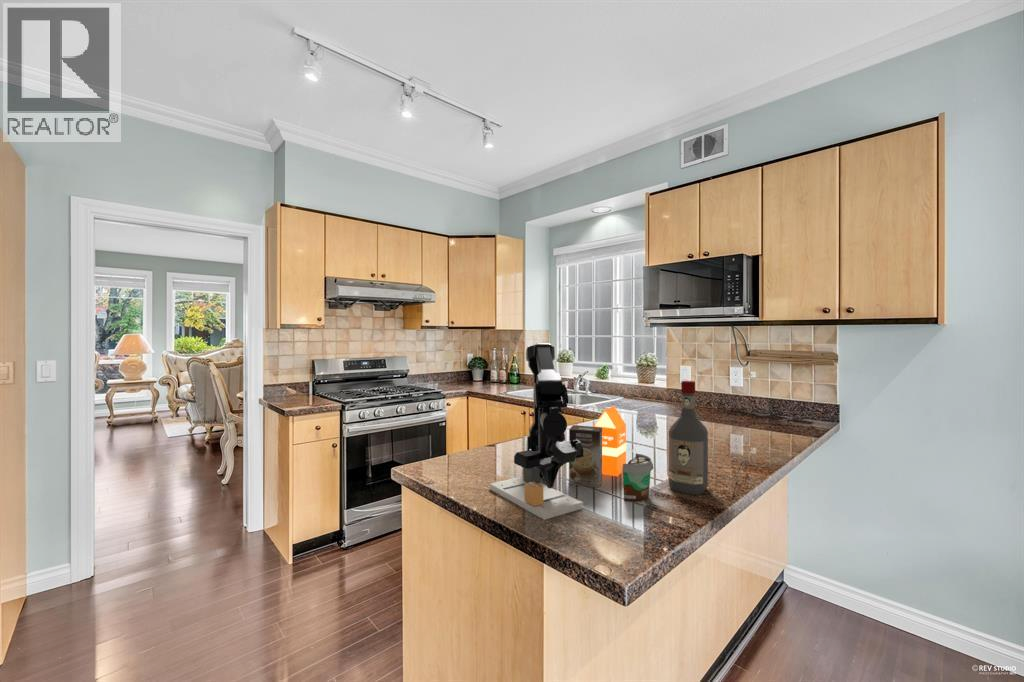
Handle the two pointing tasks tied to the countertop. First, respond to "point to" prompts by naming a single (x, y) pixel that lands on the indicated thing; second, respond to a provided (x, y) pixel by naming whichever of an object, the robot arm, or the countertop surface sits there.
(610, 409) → the orange juice
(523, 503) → the panel
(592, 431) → the coffee box
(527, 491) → the orange fader
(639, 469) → the food container
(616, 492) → the countertop surface
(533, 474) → the block
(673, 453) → the liquor
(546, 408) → the robot arm
